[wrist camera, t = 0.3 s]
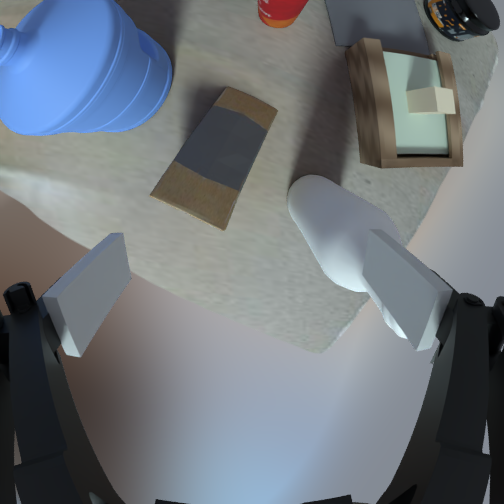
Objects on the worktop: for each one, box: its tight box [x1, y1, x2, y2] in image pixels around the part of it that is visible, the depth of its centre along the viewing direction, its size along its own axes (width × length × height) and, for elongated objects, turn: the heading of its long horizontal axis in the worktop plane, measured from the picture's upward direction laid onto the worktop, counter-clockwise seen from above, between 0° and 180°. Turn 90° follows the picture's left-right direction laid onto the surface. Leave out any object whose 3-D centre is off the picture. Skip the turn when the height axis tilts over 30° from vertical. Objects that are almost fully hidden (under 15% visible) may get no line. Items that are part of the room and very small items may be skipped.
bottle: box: [287, 175, 407, 339], centre depth 28 cm, size 8×8×30 cm
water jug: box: [0, 0, 172, 136], centre depth 20 cm, size 16×16×28 cm
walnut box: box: [345, 38, 463, 168], centre depth 32 cm, size 18×15×7 cm
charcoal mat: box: [325, 0, 430, 55], centre depth 28 cm, size 18×18×1 cm
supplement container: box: [425, 0, 500, 42], centre depth 22 cm, size 10×10×12 cm
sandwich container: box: [150, 87, 278, 231], centre depth 31 cm, size 9×15×15 cm, turn 153°
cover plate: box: [383, 51, 456, 154], centre depth 27 cm, size 15×13×8 cm
